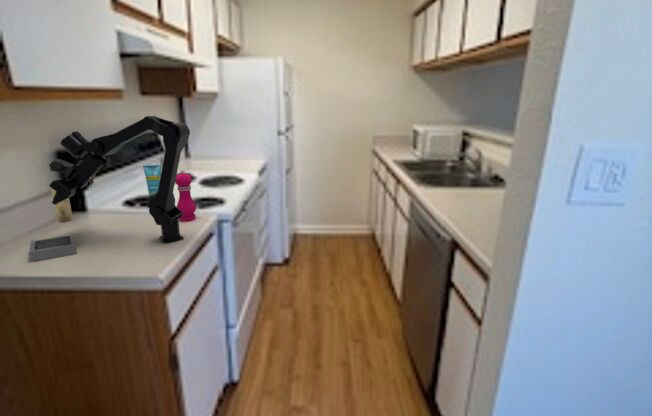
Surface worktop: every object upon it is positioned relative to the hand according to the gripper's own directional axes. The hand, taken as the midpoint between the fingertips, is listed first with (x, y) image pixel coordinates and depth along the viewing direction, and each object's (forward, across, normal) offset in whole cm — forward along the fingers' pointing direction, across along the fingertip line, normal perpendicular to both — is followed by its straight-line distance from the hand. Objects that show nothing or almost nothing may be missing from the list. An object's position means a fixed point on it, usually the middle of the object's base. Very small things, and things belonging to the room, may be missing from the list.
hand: (56, 201), depth 127 cm
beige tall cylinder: (+4, 0, +6) cm, 7 cm away
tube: (-6, -37, +25) cm, 45 cm away
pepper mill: (-17, -17, +36) cm, 43 cm away
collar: (+8, +12, +11) cm, 18 cm away
